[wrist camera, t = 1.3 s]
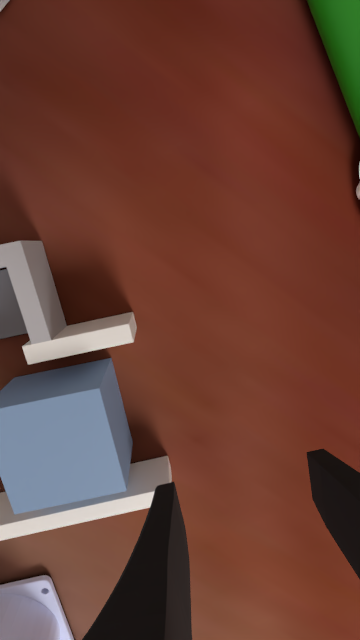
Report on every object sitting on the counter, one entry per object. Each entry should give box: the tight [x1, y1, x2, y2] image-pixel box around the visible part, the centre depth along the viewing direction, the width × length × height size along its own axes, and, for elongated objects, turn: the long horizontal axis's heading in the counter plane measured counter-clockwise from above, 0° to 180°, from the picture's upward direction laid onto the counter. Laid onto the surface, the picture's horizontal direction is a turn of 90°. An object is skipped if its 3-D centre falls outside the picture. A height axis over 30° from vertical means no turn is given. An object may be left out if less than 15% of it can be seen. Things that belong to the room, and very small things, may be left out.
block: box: [0, 358, 133, 515], centre depth 19 cm, size 6×6×4 cm
